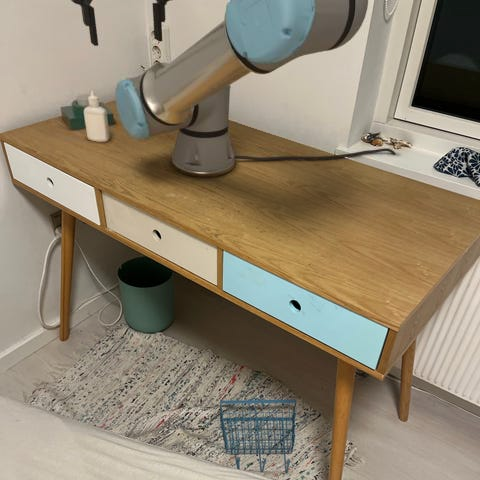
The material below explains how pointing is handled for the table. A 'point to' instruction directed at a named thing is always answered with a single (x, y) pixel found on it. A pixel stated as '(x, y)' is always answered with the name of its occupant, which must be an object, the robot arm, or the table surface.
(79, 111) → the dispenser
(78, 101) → the pale grey short cylinder
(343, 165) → the table surface
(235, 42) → the robot arm
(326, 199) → the table surface
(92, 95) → the eye dropper bottle
